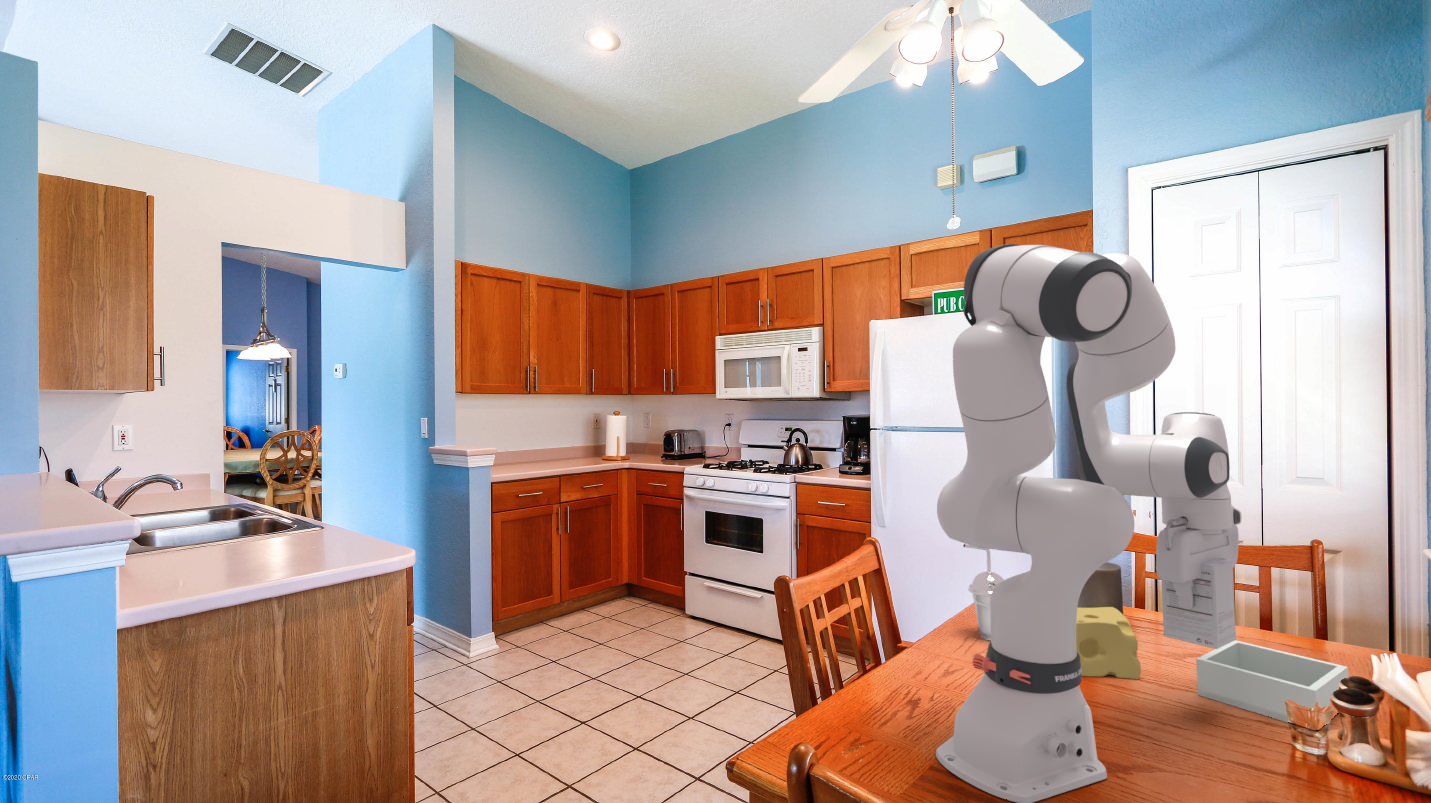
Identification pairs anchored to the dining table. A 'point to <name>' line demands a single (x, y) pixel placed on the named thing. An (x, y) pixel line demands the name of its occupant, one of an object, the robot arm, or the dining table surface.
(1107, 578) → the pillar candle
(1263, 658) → the box
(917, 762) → the dining table surface
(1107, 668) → the cheese
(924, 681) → the dining table surface
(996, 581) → the cup with straw
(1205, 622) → the supplement box
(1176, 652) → the dining table surface
